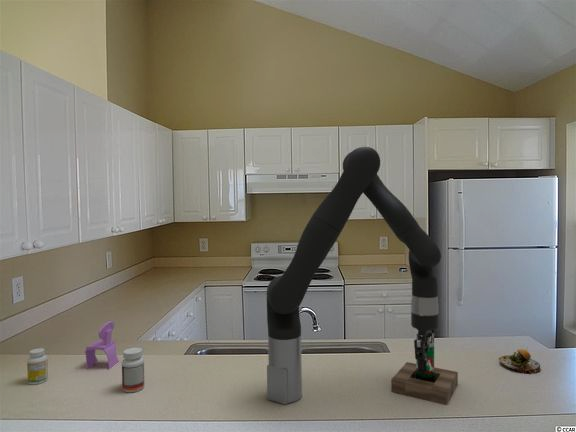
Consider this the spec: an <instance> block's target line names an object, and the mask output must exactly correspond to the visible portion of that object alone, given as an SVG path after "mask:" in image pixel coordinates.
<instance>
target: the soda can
mask: <svg viewBox="0 0 576 432" xmlns="http://www.w3.org/2000/svg"><path fill="white" fill-rule="evenodd" d="M424 348H425V349H426V348H427V346H426V347H424ZM420 355H421V356H422V353H420ZM415 364H416V379H419V380H424V381H429V382H433V383H434V367H435V343H434V344H433V341H431V342H430V347H429V352H428V353H427V372H426V373H425V374H424V373H419V372H418V359H415Z"/></svg>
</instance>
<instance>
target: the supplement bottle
mask: <svg viewBox="0 0 576 432" xmlns="http://www.w3.org/2000/svg"><path fill="white" fill-rule="evenodd" d="M45 353H46V350H45V348H43V347H42V348H33V349H31V350H30V351H29V358H28V359H27V360H26V361H27V383H28V385H40V384H43V383H45V382H47V381H48V379H49V375H48V372H49V369H48V368H49V367H48V363H49V362H48V356H47V355H46V354H45Z"/></svg>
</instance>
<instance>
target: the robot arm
mask: <svg viewBox="0 0 576 432" xmlns="http://www.w3.org/2000/svg"><path fill="white" fill-rule="evenodd" d="M380 168H381V157H380V155H379V153H378V151H377V150H375V149H374V148H372V147H370V146H361V147H357V148H355V149H353V150H352V151H351V152H349V153H347V155H345V157H344V159H343V161H342V173H341V175H340V177H339V179H338V181H337V182H336V184H335V186H334V187H333V189H332V190H330V193H329V194H328V195H326V197H325V198H324V199H323V201H322V202H321V203H320V204H319V205H318V206H317V208H316V210H315V211H314V212H313V214H312V215H311V217H310V219H309V220H308V222H307V223H306V226H305V227H304V229H303V232H301V233H302V234H301V236H300V239H299V241H298V243H297V246H296V250H295V252H294V254H293V257H292V259H291V261H290V263H289V265H288V266H287V268H286V269H285V271H284V272H283V273H282V275H279V276H275V277H274V278H273V279H272V280H270V282H269V283H268V285H267V289H266V321H267V322H266V323H267V338H268V339H267V343H268V344H267V345H268V347H267V349H268V350H267V351H268V352H267V353H268V364H267V365H266V391H267V393H266V395H267V400H269V401H273V402H276V403H279V404H283V405H288V404H290V403H295V402H297V401H299V400H300V399H301V398H302V397H303V383H302V382H303V378H302V375H303V373H302V371H303V370H302V324H301V318H300V305H302V302H303V300H304V298H305V296H306V294H307V291H308V289H309V287H310V284H311V282H312V281H313V278H314V276H315V275H316V273H317V271H318V269H319V268H320V267H321V265H322V264H323V262H324V261H325V260H326V257H327V256H328V254H330V253H329V252H331V250H332V248H333V247H334V245H335V244H336V242H337V240H338V238H339V237H340V235H341V233H342V232H343V229H344V228H345V226H346V224H347V222H348V220H349V218H350V217H351V214H352V213H353V211H354V208H355V207H356V204H357V203H358V201H359V199H360V198H361V196H362V194H364V196H365V197H366V198H367V199H368V200H369V201H370V202H371V204H372V205H373V206H374V207H375V209H376V210H377V211H378V213H379V214H380V215H381V217H382V218H383V220H384V221H385V223H386V224H387V226H388V227H389V228H390V229H391V231H392V232H393V233H394V236H395V237H396V238H397V239H398V240H399V241H400V242H402V243H403V244H404V245H405V246H406V247H407V249H408V250H409V251H408V264H409V270H410V275H411V300H410V309H411V310H410V321H411V322H410V325H411V328H413V329H416V330H417V333H416V335H415V339H414V340H413V345H414V346H413V347H414V359H415V360H416V359H418V372H419V373H424V374H425V373H426V372H427V353H428V352H429V347H430V342H431V341H433V344H434V345H435V332H436V330H438V329H439V321H440V320H439V319H440V318H439V314H440V313H439V298H438V294H439V292H438V285H439V283H438V279H437V277H436V276H435V274H434V271H433V269H434V268H435V267H436V266H438V265H439V263H440V262H441V259H442V254H441V251H440V248H439V246H438V245H437V244H436V242H435V241H434V240H433V239H432V238H431V237H430V236H429V235H428V234H427V232H426V231H425V230H423V228H422V227H421V226H420V225H419V223H418V222H417V220H416V219H415V217H414V216H413V214H412V213H411V212H410V210H409V209H408V208H407V207H406V205H405V204H404V203H403V202H402V201H401V200H400V199H399V198H398V197H396V195H394V194H393V192H391V191H390V190H389V189H388V188H387V186H386V185H385V184H384V182H383V180H381V178H380V176H379V175H378V173H379V171H380ZM426 346H427V348H426V349H425V348H424V347H426ZM420 353H422V356H421V355H420Z"/></svg>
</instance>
